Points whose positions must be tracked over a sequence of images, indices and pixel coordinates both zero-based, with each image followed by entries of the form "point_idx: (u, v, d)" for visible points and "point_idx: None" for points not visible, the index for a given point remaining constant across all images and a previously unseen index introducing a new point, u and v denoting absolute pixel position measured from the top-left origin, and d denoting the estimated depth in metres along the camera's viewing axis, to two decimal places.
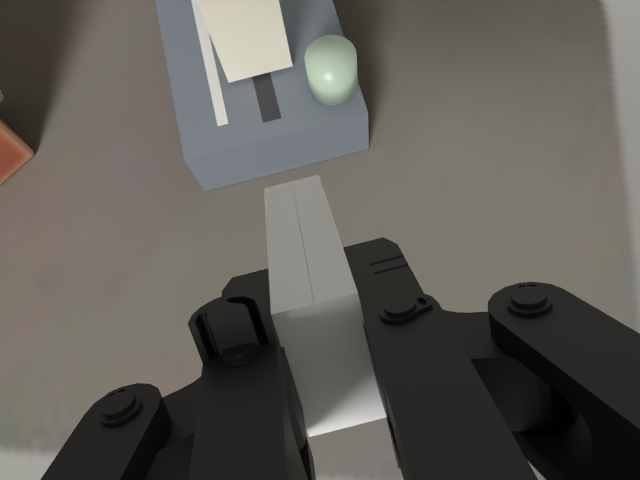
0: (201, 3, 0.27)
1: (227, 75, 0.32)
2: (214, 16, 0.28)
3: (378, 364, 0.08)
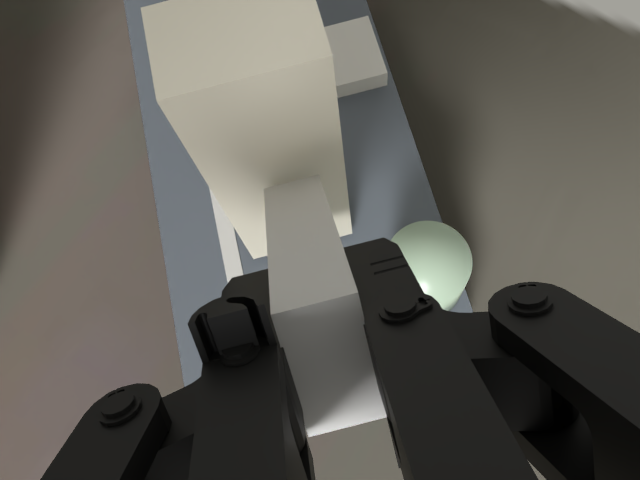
0: (214, 184, 0.16)
1: (252, 252, 0.21)
2: (235, 196, 0.17)
3: (378, 364, 0.08)
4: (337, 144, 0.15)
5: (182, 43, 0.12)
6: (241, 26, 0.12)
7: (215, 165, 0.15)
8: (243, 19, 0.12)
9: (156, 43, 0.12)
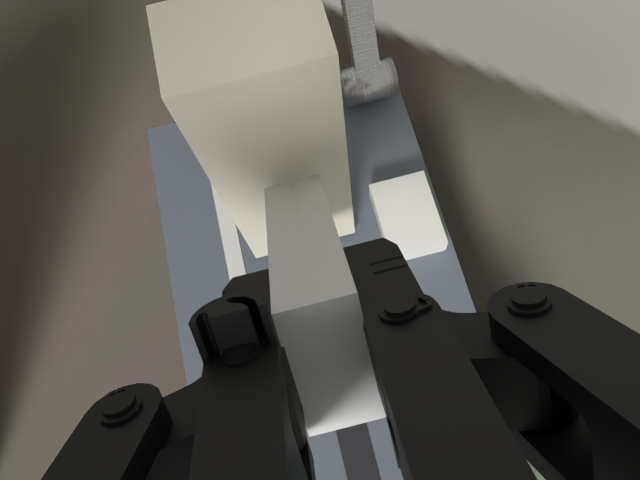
0: (218, 183, 0.16)
1: (255, 251, 0.21)
2: (239, 195, 0.17)
3: (378, 364, 0.08)
4: (341, 143, 0.15)
5: (187, 41, 0.12)
6: (246, 24, 0.12)
7: (220, 163, 0.15)
8: (248, 17, 0.12)
9: (161, 41, 0.12)
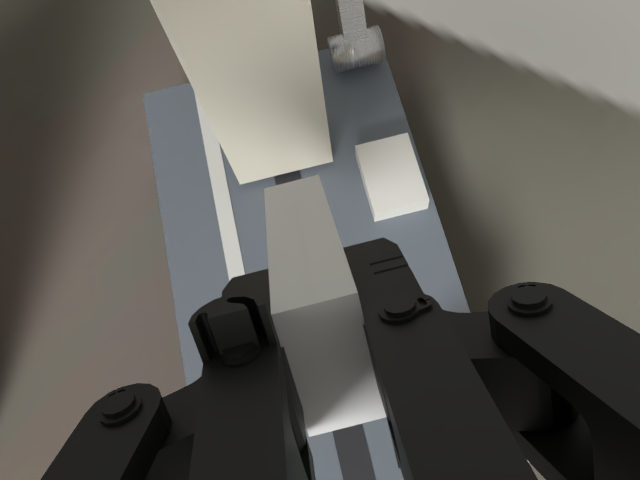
0: (200, 91, 0.17)
1: (238, 176, 0.22)
2: (220, 107, 0.18)
3: (378, 364, 0.08)
4: (313, 54, 0.17)
5: None
6: None
7: (201, 69, 0.16)
8: None
9: None
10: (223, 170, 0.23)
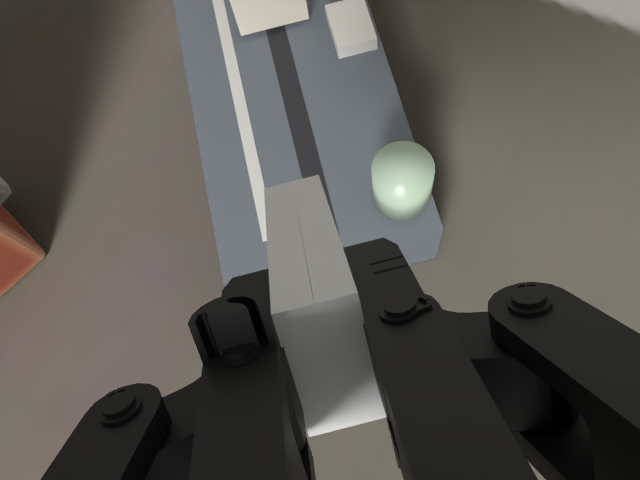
0: None
1: (240, 27, 0.30)
2: None
3: (378, 364, 0.08)
4: None
5: None
6: None
7: None
8: None
9: None
10: (228, 29, 0.32)
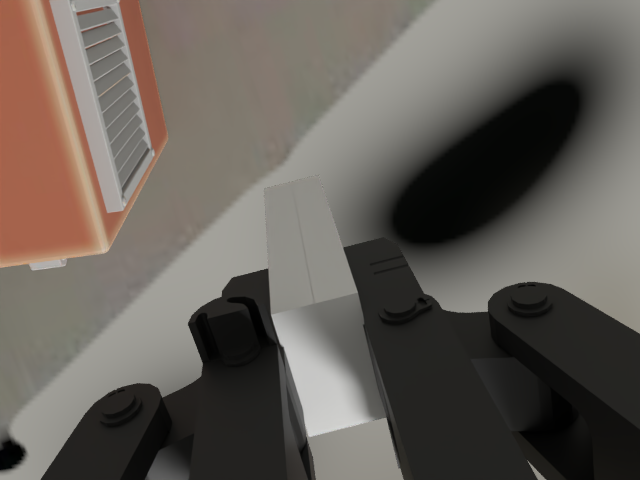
0: None
1: None
2: None
3: (378, 364, 0.08)
4: None
5: None
6: None
7: None
8: None
9: None
10: None
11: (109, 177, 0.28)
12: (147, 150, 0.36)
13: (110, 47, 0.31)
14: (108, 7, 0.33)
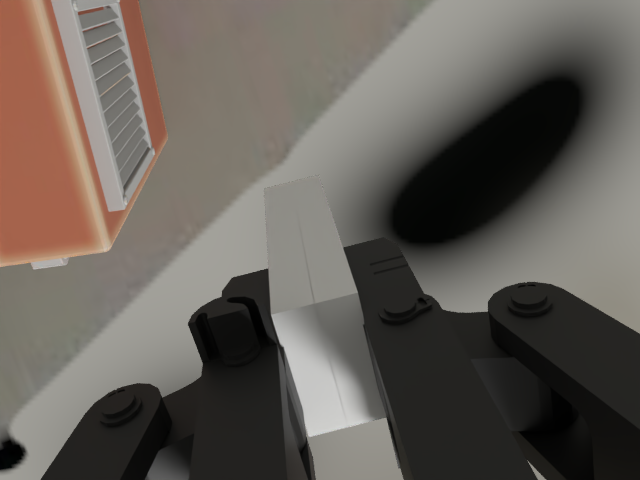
0: None
1: None
2: None
3: (378, 364, 0.08)
4: None
5: None
6: None
7: None
8: None
9: None
10: None
11: (111, 176, 0.28)
12: (148, 149, 0.36)
13: (111, 46, 0.31)
14: (108, 7, 0.33)
